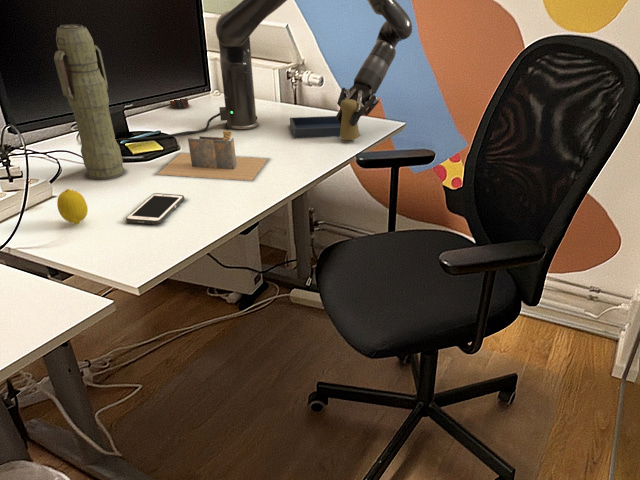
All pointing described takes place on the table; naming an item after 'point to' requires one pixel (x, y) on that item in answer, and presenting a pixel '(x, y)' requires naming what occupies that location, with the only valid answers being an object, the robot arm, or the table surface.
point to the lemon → (72, 206)
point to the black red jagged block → (179, 104)
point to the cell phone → (155, 208)
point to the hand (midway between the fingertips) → (344, 122)
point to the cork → (346, 128)
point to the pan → (315, 126)
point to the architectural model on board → (213, 160)
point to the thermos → (88, 100)
